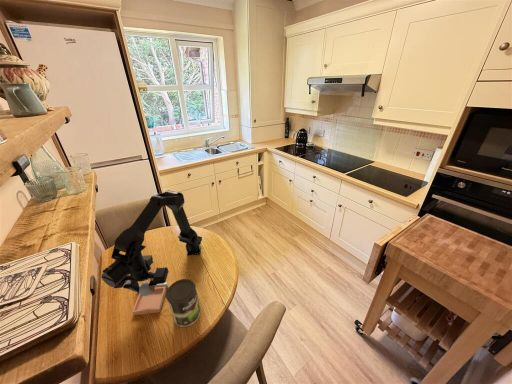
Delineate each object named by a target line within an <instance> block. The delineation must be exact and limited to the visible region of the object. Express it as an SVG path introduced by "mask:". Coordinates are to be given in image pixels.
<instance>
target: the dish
mask: <svg viewBox="0 0 512 384" xmlns="http://www.w3.org/2000/svg"><path fill="white" fill-rule="evenodd" d="M167 290H168V288H166V287H156V288H155V290H154V292H153V291H152V292H151V293H150V294H149V295H147V296H142V295H141V294H140V293H138V295H137V299H136V301H135V304H134V306H133V309H132V311H131V313H132V315H133V316H136V315H138V316H139V315H148V314H155V313H160V312H161V310H162V307H163V303H164V300H165V298H166V292H167Z"/></svg>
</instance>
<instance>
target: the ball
mask: <svg viewBox="0 0 512 384" xmlns="http://www.w3.org/2000/svg"><path fill="white" fill-rule="evenodd" d="M149 283H150V281H149V282H147V281H146V282H145V281H144V282H142V284H140V285H141V286H140V288H139V293H140V294H141V295H142V296H147V295H149V294H150V293H151V292H152V290H151V289H150V287H149ZM139 293H138V294H139Z"/></svg>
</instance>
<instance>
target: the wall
mask: <svg viewBox="0 0 512 384" xmlns="http://www.w3.org/2000/svg"><path fill="white" fill-rule="evenodd" d="M141 285H142V284H139V286H141ZM156 287H166V289H168V288H169V283H168V282H167V281H166V282H165V283H163V284H157V285H155V288H156Z"/></svg>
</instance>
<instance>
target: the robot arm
mask: <svg viewBox="0 0 512 384" xmlns="http://www.w3.org/2000/svg"><path fill="white" fill-rule="evenodd" d="M185 202H186V201H185V198H184V194H183V193H182V192H180V191H174V190H166V191H164V192H160V193H158V194H155V195H151V197H150V198H149V201H148V203H147V204H146V205H145V207H144V209H143V210H142V211H141V212H140V214H139V215H138V217H137V218H136V219H135V221H134V222H133V223H132V225H131V226H130V227H128V228H126V229H124V230H122V232H121V233H120V234H119V235H118V236H117V237H116V239H115V240H114V246H113V249H112V253H111V257H110V258H111V259H113V260H114V262H112V263H111V264H110V265H108V266H107V267H105V268H104V269H103V270H102V273H101V274H100V275H101V280H102V281H103V282H104V283H105V284H106V285H107V286H109V287H111V288H113V289H122V288H123V290H124V289H125V290H128V291H131V292H132V291H133V292H135V293H138V294H139V288H140V286H139V285H140V284H139V283H140V282H145V281H148V280H149V287H150V289H151V290H152V291H153V292H154V290H155V285H157V284H163V283H165V282H167V279H168V274H169V272H170V271H169V269H168V267H167V266H166V267H165V266H163V267H156V269H155V270H152V271H151V269H152V267H151V265H152V264H153V263H154V259H153V255H152V254H148V255H143V253H142V251H143V250H145V249H146V247H147V246H146V245H143V244H144V242H145V233H146V232H147V230H148V229H149V228H150V226H151V224H152V223H153V221H154V220H155V218H156V216H157V215H158V214H159V212H160V211H161V209H162V208H163V207H167V208H168V209H169V210H171V212H172V215H173V217H174V219H175V221H176V224H177V225H178V229H179V232H180V233H178V235H177V238H178V240H179V242H180V243H185V249H186V252H187V254H186V255H187V256H193V255H194V256H195V255H200V254H201V249H202V245H201V244H202V241H203V237H202V236H199V234H198V233H197V231H196V230H194V229H193V228H192V227H191V224H190V222H189V220H188V216H187V214H186V211H185V209H184V205H185ZM121 252H122V253H121ZM123 253H125V254H123Z"/></svg>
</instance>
